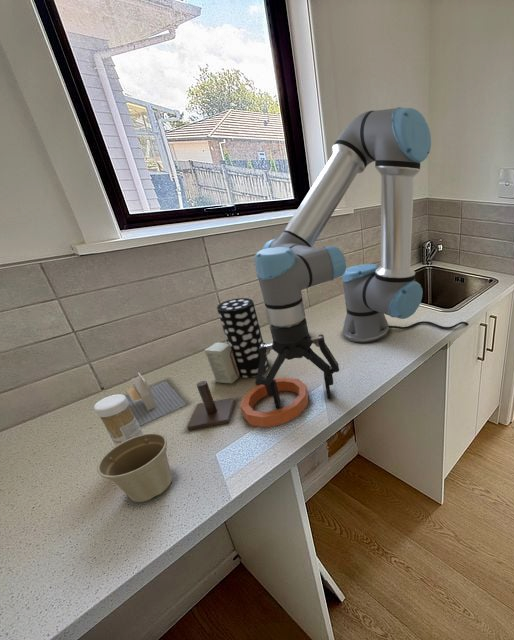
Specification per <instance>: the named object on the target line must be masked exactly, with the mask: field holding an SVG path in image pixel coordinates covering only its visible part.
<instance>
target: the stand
mask: <svg viewBox="0 0 514 640" xmlns="http://www.w3.org/2000/svg"><path fill="white" fill-rule="evenodd" d="M209 386H210V385H209V384H208V381H207V380H202V381H199V382H197V383H196V388H197V390H198V393H199V396H200V399H201V401H202V402H201V403H197V404H196V407H195V409H194V411H193V412H192V415H191V418H190V419H189V422H188V424H187V426H186V428H187V431H193V430H197V429H203V428H208V427H213V426H218V425H223V424H228V423H230V419H231V416H232V413H233V410H234V407H235V402H236V398H235V397H230V398H224V399H217V400H214V397H213V394H212V392H211V389H210V387H209Z"/></svg>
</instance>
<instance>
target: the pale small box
mask: <svg viewBox="0 0 514 640" xmlns="http://www.w3.org/2000/svg"><path fill="white" fill-rule="evenodd" d="M204 353H205V356H206V358H207V361H208V363H209V366H210V370H211V372H212V375H213V377H214V380H215V382H216V383H222V384H223V383H224V384H233V383H234V382H236V381H237V380H238V379H239V378H241V377H240V374H239V371H238V368H237V365H236V362H235V358H234V355H233V352H232V349H231V346H230V345H229V344H228V343H227V342H221V341H215V342H214V343H213V344H211V345H210V346H208V347H206V348H205V349H204Z"/></svg>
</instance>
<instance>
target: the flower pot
mask: <svg viewBox="0 0 514 640" xmlns="http://www.w3.org/2000/svg"><path fill="white" fill-rule="evenodd" d="M167 446H168V439H167V437H166V436H165V435H164V434H162V433H159V432H149V433H143V434H142V435H138V436H136V437H133V438H130V439H128V440H126V441H124V442H122V443H120V444H118V445H117V446H115V445H114V447H112V448H111V449H109V450H108V451H107V452H106V453H105V454H104V455H103V456H102V458H101V459H100V460H99V462H98V463H97V466H96V472H97V474H98V475H99V477H102V478H104V479H107V480H109V481H111V482H112V483H114V485H116V486H117V487H118V488H119V489H120V490H121V491H122V492H123V493H124V494H125V495H126V496H127V497H128V498H129V499H130V500H131V501H133V502H135V503H143V502H148V501H150V500H151V499H153V498H154V497H156V496H160V495H161V494H162V493H164V492H165V491H166V490H167V489H168V488H169V487H170V485H171V483H172V481H173V474H172V470H171V467H170V463H169V459H168V454H167V448H168V447H167Z"/></svg>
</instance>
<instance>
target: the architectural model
mask: <svg viewBox="0 0 514 640" xmlns="http://www.w3.org/2000/svg"><path fill="white" fill-rule="evenodd" d="M137 375H138V376H135V375H134V377H133V378H131V381H132V383H133V384H132V387H129V388H126V389H125V391H126V393H127V394H128V395H127V396H125V397H126V398H127V400H128V402H129V407H130V409H131V411H132V413H133V415H134V416H135V418H136V420H137V422H138V424H139V426H140V427H141V426H143V425H146V424H148V423H149V422H152V421H154V420H155V419H159V418H161V417H162V416H163V417H164V416H165V415H167V414H169V413H171V412H174V411H175V410H178V409H180V408H182V407H185V406H187V404H186V403H185V401H184V400H183V399H182V398H181V397H180V395H178V394H177V392H176V391H175V390H174V389H173V387H172V386H171V385H170V384H169V383H168V382H167V380H165V381H162V382H159V383H157V384H155V385H152V386H150V387H149V385H148V382H147V381H146V380H145V378H144V377H143V376H142V374H141V373H140V372H137Z"/></svg>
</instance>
